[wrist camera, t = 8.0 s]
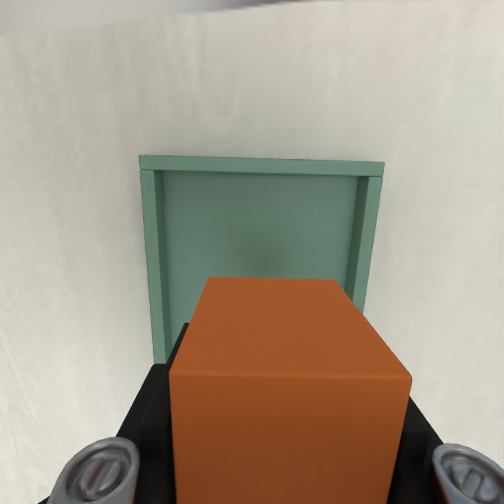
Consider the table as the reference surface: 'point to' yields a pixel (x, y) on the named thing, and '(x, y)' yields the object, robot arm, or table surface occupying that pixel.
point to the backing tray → (252, 227)
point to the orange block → (284, 397)
